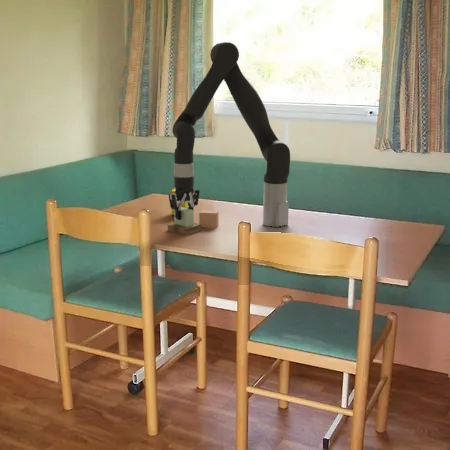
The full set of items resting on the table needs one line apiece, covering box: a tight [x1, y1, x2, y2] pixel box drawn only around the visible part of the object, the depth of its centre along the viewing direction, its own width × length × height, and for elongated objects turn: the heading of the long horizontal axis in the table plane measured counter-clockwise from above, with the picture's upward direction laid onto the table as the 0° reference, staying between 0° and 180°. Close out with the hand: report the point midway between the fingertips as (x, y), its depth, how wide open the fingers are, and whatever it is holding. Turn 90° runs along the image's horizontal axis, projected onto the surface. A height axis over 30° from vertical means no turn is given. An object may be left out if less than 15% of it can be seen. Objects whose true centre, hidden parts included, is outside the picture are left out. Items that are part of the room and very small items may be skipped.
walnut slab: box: [167, 222, 202, 236], centre depth 245 cm, size 10×8×3 cm
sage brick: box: [173, 207, 195, 227], centre depth 244 cm, size 7×4×6 cm, turn 47°
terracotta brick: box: [198, 209, 220, 229], centre depth 250 cm, size 7×4×6 cm, turn 80°
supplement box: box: [170, 187, 188, 217], centre depth 267 cm, size 6×6×11 cm
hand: (184, 218), depth 244 cm, fingers open, 5 cm apart
